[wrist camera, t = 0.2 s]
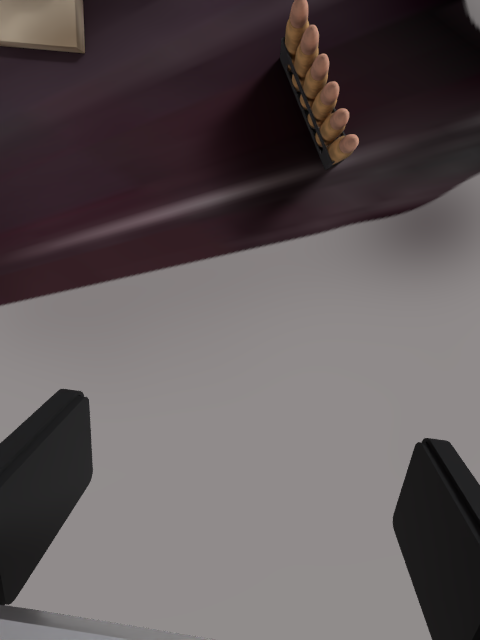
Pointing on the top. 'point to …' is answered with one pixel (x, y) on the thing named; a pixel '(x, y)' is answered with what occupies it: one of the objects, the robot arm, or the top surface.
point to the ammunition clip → (315, 88)
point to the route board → (43, 24)
